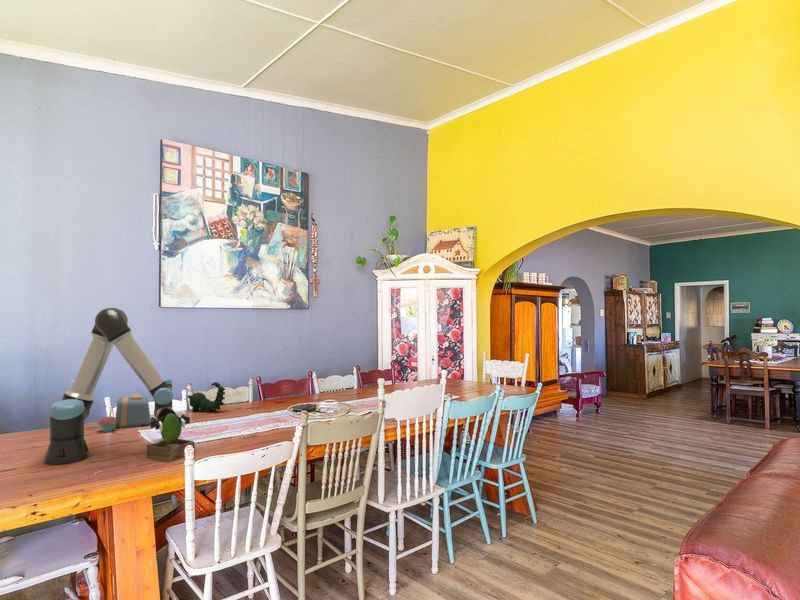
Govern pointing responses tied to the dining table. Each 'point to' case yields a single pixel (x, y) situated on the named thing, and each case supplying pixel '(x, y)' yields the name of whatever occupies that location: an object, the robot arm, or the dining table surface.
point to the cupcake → (107, 423)
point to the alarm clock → (132, 411)
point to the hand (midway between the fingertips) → (172, 426)
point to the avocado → (171, 428)
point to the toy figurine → (207, 400)
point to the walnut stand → (168, 449)
